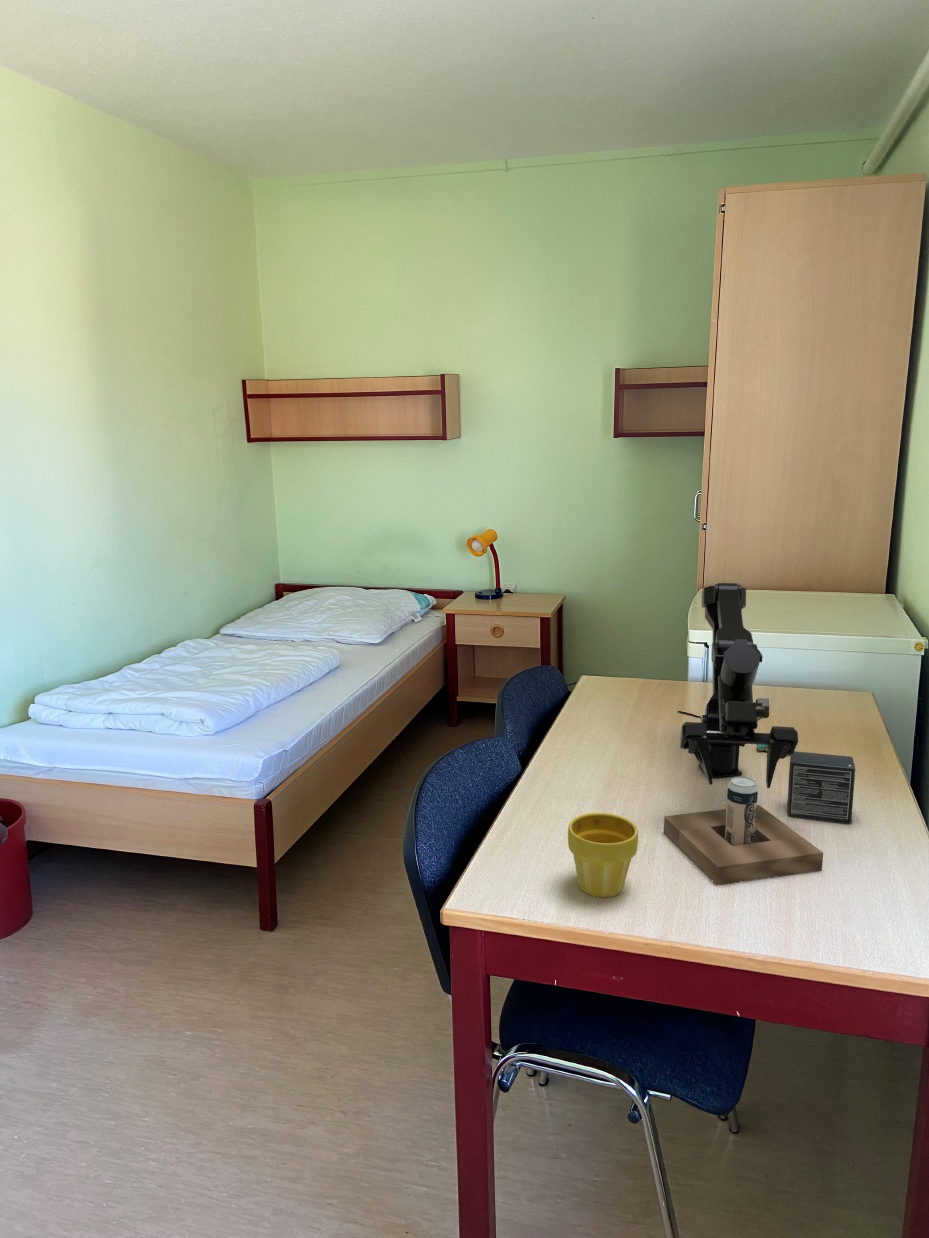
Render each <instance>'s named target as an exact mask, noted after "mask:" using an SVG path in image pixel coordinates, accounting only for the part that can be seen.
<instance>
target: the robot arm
mask: <svg viewBox="0 0 929 1238" xmlns="http://www.w3.org/2000/svg"><path fill="white" fill-rule="evenodd" d="M746 607H747V588H745V587H742V585H741V584H738V583H737V582H718V583H715V584H713V585H708V586H706V587H703V588H702V591H701V608H704V619H705V620H706V621H707V623H708V625H709V626H710V628H711V629H712V643H711V654H710V655H711V657H710V658H711V662H712V696H711V697H710V698H709V699H710V700H709V702H708V703H707V705H706V708H705V715H702V717H700V722H694V721H685V722H684V723H682V725H681V729H680V738H679V745H680V749H682V750H687V752H688V754H692V755H693V756H694V757H695V758H696V761H698V763H699V764H698V768H699V769H700V770H702V771H703V774H704V775H705V777H706V780H707V782H708V785H711V786H712V784H713V779H716V778H726V777H733V776H734V777H737V776H741V775H743V771H742V770H740V769H739V761H740V759H739V758H740V747H742V748H744V747H746V745H756V744H761V745H768V750H769V752H767V755H766V771H765V773H766V775H765V776H766V777H765V782H766V789H770V788H771V785H772V782H773V778H774V774H775V771H776V769H777V768H776V767H777V764H778V762H779V760H780V759H783V760H784V759H786V757H787V756H790V754H793V753H794V751H796V748H797V746H798V743H799V735H798V731H797V729H795V727H793V726H779V725H778V726H775V725H772V726H771V729H770V732H769V733H768V732H767V733H764V732H755V731H756V730H757V728H758V720H759V719H768V718H769V717H770V699H769V698H766V697H764V698H763V697H758V698H756V699H755V702H754V695H753V693H754V692H753V685H754V682H755V680H756V677H757V674H758V670H759V666H760V664H761V663H763V654H762V652H761V651H760V650H759V649H758V648H759V647H758V645H757V643H754V640H753V634H752V632H751V631H749V630H748V629H746V628H745V627H744V626H745V625H744V622H743V621H744V620H743V614H742V613H743V612H742V611H743V609H745V608H746Z"/></svg>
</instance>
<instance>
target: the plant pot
mask: <svg viewBox="0 0 929 1238" xmlns="http://www.w3.org/2000/svg"><path fill="white" fill-rule="evenodd" d="M567 843H568V845H567V846H568V849H569V851H570V852H571V854H572V855H573V860H574V865H575V871H576V875H577V876H576V877H577V881H578V886H579V888H580V891H582V892H583V893H585V894H587V895H588V896H589V895H590V896H592V897H596V898H613V897H616V896H617V895H619V894H621V893H622V891H623V889H624V886H625V882H626V878H627V877H628V876H627V875H628V872H629V868H630V864H631V861H632V859H633V858H634V856H636V853H638V844H639V829H638V826H637V825H636V824H635V823H634V822H633V821H632V820H630V819H629V818H627V817H624V816H621V815H618V814H614V813H609V812H608V813H607V812H590V813H589V812H588V813H583V814H581V815H578V816H576V817H574V818H573V819H572V820H571V821H570V822H569V824H568V830H567Z"/></svg>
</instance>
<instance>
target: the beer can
mask: <svg viewBox="0 0 929 1238" xmlns="http://www.w3.org/2000/svg"><path fill="white" fill-rule="evenodd" d="M758 795H759V786H758V784H757V782H756V780H754V779H753V778H750V777H745V776H734V777H732V778H731V779H730V780H729V782H728V783H727V794H726V796H727V797H726V808H725V809H726V826H725V840H726V841H727V842H728V843H729V844H730V845H731V846H736V845H744V844H751V843H754V841H755V827H756V812H757V805H758Z"/></svg>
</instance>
